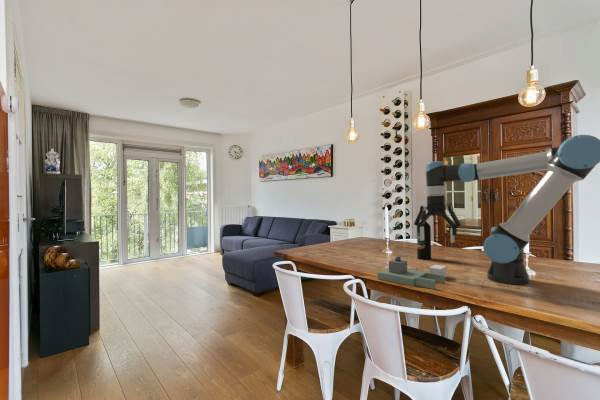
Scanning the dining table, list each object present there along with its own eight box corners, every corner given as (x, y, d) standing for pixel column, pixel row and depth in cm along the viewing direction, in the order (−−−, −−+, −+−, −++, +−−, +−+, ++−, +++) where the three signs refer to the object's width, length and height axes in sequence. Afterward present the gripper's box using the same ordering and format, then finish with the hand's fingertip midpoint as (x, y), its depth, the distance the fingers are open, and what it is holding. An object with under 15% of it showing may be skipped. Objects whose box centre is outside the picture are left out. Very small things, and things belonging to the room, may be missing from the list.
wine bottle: (432, 260, 173) (431, 208, 173) (418, 259, 175) (417, 208, 174) (429, 257, 181) (428, 207, 180) (416, 257, 182) (415, 207, 182)
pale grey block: (446, 276, 139) (446, 266, 139) (440, 280, 134) (440, 269, 134) (435, 275, 142) (435, 264, 142) (429, 278, 137) (429, 267, 137)
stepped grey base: (445, 282, 130) (445, 259, 130) (433, 290, 120) (432, 265, 120) (392, 272, 148) (392, 252, 148) (377, 278, 138) (377, 257, 138)
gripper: (468, 194, 132) (469, 242, 132) (412, 195, 149) (414, 238, 150) (462, 194, 126) (463, 244, 127) (406, 196, 144) (407, 240, 144)
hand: (437, 241), depth 138 cm, fingers open, 13 cm apart
